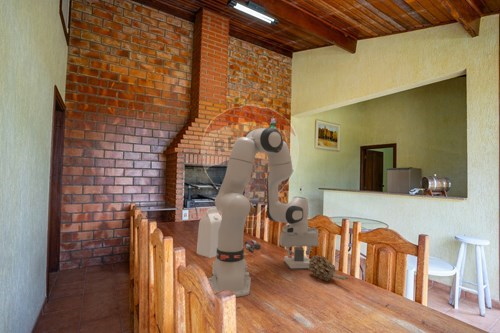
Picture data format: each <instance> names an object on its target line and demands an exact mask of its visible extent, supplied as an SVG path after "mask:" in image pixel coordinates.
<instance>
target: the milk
mask: <svg viewBox="0 0 500 333" xmlns="http://www.w3.org/2000/svg"><path fill="white" fill-rule="evenodd" d="M221 220H222V214H221V213H220V212H219V211H218V210H217V208H216V207H211V208H207V210H206V213H205V215H203V216H202V218H200V220H199V222H198V230H197V231H198V232H197V241H196V242H197V244H196V245H197V246H196V252H195V253H196V254H197V255H200V256H203V257H205V258H208V259H212V258H214V257H216V251H217V248H218V230H219V228H220V225H221Z"/></svg>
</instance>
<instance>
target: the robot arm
mask: <svg viewBox="0 0 500 333" xmlns="http://www.w3.org/2000/svg"><path fill="white" fill-rule="evenodd" d="M257 153H265V154H266V155H267V160H268V167H269V171H268V175H267V176H266V198H267V200H266V203H267V204H266V216H267V218H268V220H269V221H271V222H276V223H277V222H279V223H284V225H282V227H281V232H280V236H279V245H280V246H281V247H283V248H285V247H286V250H287V254H288V255H287V256H293V254H292V253H293V251H292V250H290V248H291V247H292V248H294V247H307V250H305V256H308V255H310V252H311V251H312V248H313V247H318V246H319V230H318V229H317V228H316V227H309V219H308V218H309V201H308V199H307V198H306V197H301V196H293V197H292V199H291V201H289V202H287V203H284V202H281V201H280V200H279V186H280V183H282V182H284V181H287V180H288V179H289V177H291V175H292V173H293V163H292V162H293V161H292V156H291V153H290V150H289V146H288V143H287V142H286V141H284V139H283V136H282V134H281V132H280V131H279V130H278V129H276V128H274V127H267V128H266V127H265V128H264V127H260V128H256V129H251V130H249V131H248V132H246V134H245V135H244V136H240V137H238V138H237V139H236V140H235V141H234V144H233V146H232V148H231V151H230V155H229V158H228V162H227V166H226V171H225V175H224V178H223V180H222V182H221V185H220V188H219V190H218V193H217V195H216V196H215V199H214V205H215V208H217V210H218V213H219V214H221V217H222V220H221V225H220V228H219V230H218V248H217V251H216V256H215V257H216V258H215V259H214V260H213V261H212V272H211V277H208V278H207V281H208V280H209V282H210V284H211V287H212V289H213V291H214V292H217V291H222V290H230V291H232V292H233V293H235V295H236V297H235V298H239V297H245V296H247V295H249V294H250V292H251V291H250V290H251V284H252V283H251V280H252V278H251V277H250V272H249V271H247V270H248V269H249V266H247V260H246V259H245V250H244V230H245V226H246V221H247V217H248V216H249V214H250V211H251V207H252V206H251V203H250V201H249V199H248V198H247V197H246V196H245V195H244V192H245V189H246V187H247V185H248V184H249V183H250V181H251V176H252V172H253V167H254V163H255V157H256V156H257V155H256V154H257ZM285 224H286V225H285Z"/></svg>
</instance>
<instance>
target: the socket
mask: <svg viewBox="0 0 500 333" xmlns="http://www.w3.org/2000/svg"><path fill="white" fill-rule="evenodd" d="M283 260H284V261H283V262H284V263H285V264H286V266H287V267H288V268H289V269H290V271H293V270H295V271H301V270H309V266H308V265H309V264H310V263H309V261H310V260H311V258H309V257H308V255H304V262H303V261H294V255H284V256H283Z"/></svg>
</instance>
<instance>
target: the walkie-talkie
mask: <svg viewBox="0 0 500 333" xmlns="http://www.w3.org/2000/svg"><path fill="white" fill-rule="evenodd" d="M244 245H245V248H246V250H249V251H250V252H252V253H254V250H260V249H261V244H260V243H259V242H257V241H256V239H255V240H254V239H248V240H247V239H246V241H245V242H244Z"/></svg>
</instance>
